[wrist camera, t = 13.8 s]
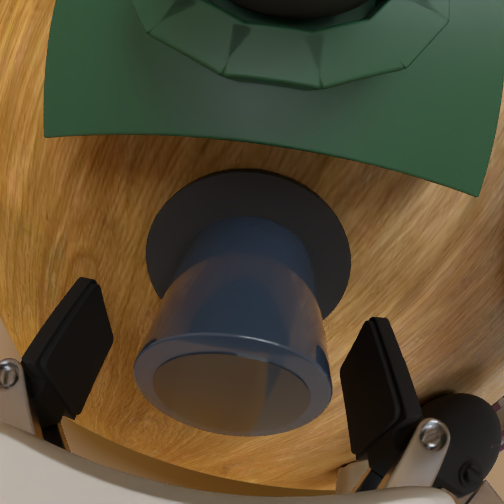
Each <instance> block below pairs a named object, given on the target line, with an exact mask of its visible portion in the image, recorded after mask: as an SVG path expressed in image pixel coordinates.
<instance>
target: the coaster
mask: <svg viewBox="0 0 504 504" xmlns="http://www.w3.org/2000/svg"><path fill="white" fill-rule="evenodd" d="M235 216H253V217H259V218H264V219H268V220H271V221H274V222H276V223H278V224H280V225H282V226H284V227H285V228H287V229H288V230H290V231H291V232H292V233H294V234H295V235H296V236H297V237H298V238H299V239H300V240H301V242H302V243H303V244H304V246H305V247H306V249H307V250H308V253H309V255H310V257H311V261H312V264H313V270H314V275H315V280H316V285H317V291H318V296H319V302H320V308H321V314H322V319H323V320H324V319H325V318H326V317H327V316H328V315H329V314H330V313H331V312H332V311H333V310H334V309H335V307H336V306H337V304H338V303H339V301H340V300H341V298H342V296H343V294H344V292H345V290H346V287H347V284H348V280H349V276H350V269H351V254H350V249H349V243H348V240H347V237H346V235H345V232H344V229H343V227H342V225H341V223H340V222H339V220H338V218H337V216H336V215H335V213H334V212H333V211H332V210H331V208H330V207H329V206H328V204H326V203H325V202H324V201H323V200H322V199H321V198H320V197H319V196H318V195H317V194H316V193H314V192H313V191H311V190H310V189H309V188H307V187H306V186H304V185H302V184H300V183H299V182H297V181H295V180H293V179H291V178H288V177H285V176H282V175H279V174H277V173H272V172H267V171H262V170H252V169H236V170H226V171H221V172H216V173H212V174H210V175H207V176H204V177H201V178H199V179H197V180H195V181H193V182H191V183H189V184H187V185H186V186H184V187H183V188H182V189H180V190H179V191H178V192H176V193H175V194H174V195H173V196H172V197H171V198H170V199H169V200H168V201H167V202H166V203H165V205H164V206H163V207H162V209H161V210H160V211H159V213H158V214H157V216H156V218H155V220H154V222H153V224H152V226H151V229H150V232H149V235H148V239H147V246H146V262H147V268H148V273H149V276H150V279H151V282H152V284H153V286H154V289H155V291H156V292H157V294H158V296H159V297H160V299H161V300H162V298H163V296H164V294H165V292H166V290H167V288H168V286H169V283H170V281H171V279H172V277H173V275H174V273H175V271H176V269H177V267H178V265H179V263H180V261H181V259H182V257H183V255H184V253H185V251H186V249H187V247H188V245H189V243H190V242H191V240H192V239H193V238H194V237H195V236H196V234H197V233H199V232H200V231H201V230H202V229H203V228H205V227H207V226H208V225H210V224H212V223H214V222H216V221H219V220H222V219H225V218H230V217H235Z"/></svg>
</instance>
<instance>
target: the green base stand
mask: <svg viewBox="0 0 504 504" xmlns="http://www.w3.org/2000/svg"><path fill="white" fill-rule="evenodd" d="M503 81H504V0H368V1H367V2H366V3H364V4H362V5H360V6H359V7H357V8H355V9H352V10H350V11H347V12H344V13H340V14H337V15H333V16H326V17H318V18H289V17H280V16H274V15H268V14H264V13H260V12H256V11H253V10H250V9H247V8H244V7H241V6H239V5H237V4H235V3H233V2H231V1H229V0H56V2H55V6H54V11H53V16H52V21H51V27H50V33H49V40H48V48H47V57H46V67H45V81H44V137H45V138H53V137H67V136H86V135H161V136H182V137H197V138H209V139H220V140H230V141H239V142H248V143H256V144H263V145H270V146H277V147H284V148H290V149H296V150H302V151H307V152H313V153H318V154H323V155H328V156H333V157H338V158H343V159H347V160H352V161H356V162H361V163H365V164H369V165H373V166H377V167H381V168H385V169H389V170H393V171H396V172H400V173H403V174H407V175H410V176H414V177H417V178H421V179H424V180H427V181H430V182H433V183H437V184H440V185H443V186H446V187H449V188H452V189H454V190H457V191H460V192H463V193H466V194H468V195H471V196H474V197H478V196H479V193H480V190H481V187H482V184H483V181H484V177H485V174H486V170H487V167H488V163H489V159H490V155H491V151H492V147H493V143H494V138H495V133H496V128H497V123H498V118H499V112H500V105H501V98H502V90H503Z"/></svg>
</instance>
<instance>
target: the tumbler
mask: <svg viewBox="0 0 504 504" xmlns="http://www.w3.org/2000/svg"><path fill="white" fill-rule="evenodd" d="M133 374H134V378H135V382H136V384H137V386H138V388H139V390H140V391H141V393H142V394H143V395H144V396H145V398H146V399H147V400H148V401H149V402H150V403H151V404H152V405H154V406H155V407H156V408H157V409H159V410H160V411H161V412H163V413H165V414H166V415H168V416H170V417H171V418H173V419H175V420H177V421H179V422H181V423H184V424H186V425H189V426H191V427H194V428H197V429H201V430H204V431H208V432H212V433H217V434H223V435H231V436H266V435H273V434H278V433H283V432H287V431H290V430H294V429H296V428H299V427H301V426H303V425H305V424H307V423H309V422H311V421H312V420H314V419H315V418H317V417H318V416H319V415H320V414H322V413H323V411H324V410H325V409H326V408H327V406H328V404H329V403H330V400H331V397H332V379H331V372H330V365H329V358H328V351H327V344H326V338H325V332H324V326H323V319H322V314H321V308H320V302H319V296H318V291H317V285H316V280H315V275H314V270H313V264H312V261H311V257H310V255H309V253H308V250H307V249H306V247H305V246H304V244H303V243H302V242H301V240H300V239H299V238H298V237H297V236H296V235H295V234H294V233H292V232H291V231H290V230H288V229H287V228H285V227H284V226H282V225H280V224H278V223H276V222H274V221H271V220H268V219H264V218H259V217H253V216H235V217H230V218H225V219H222V220H219V221H216V222H214V223H212V224H210V225H208V226H207V227H205V228H203V229H202V230H201V231H200V232H199V233H197V234H196V236H195V237H194V238H193V239H192V240H191V242H190V243H189V245H188V247H187V249H186V251H185V253H184V255H183V257H182V259H181V261H180V263H179V265H178V267H177V269H176V271H175V273H174V275H173V277H172V279H171V281H170V283H169V286H168V288H167V290H166V292H165V294H164V296H163V298H162V300H161V303H160V305H159V307H158V309H157V311H156V313H155V316H154V318H153V320H152V322H151V325H150V327H149V329H148V331H147V334H146V336H145V338H144V340H143V343H142V345H141V347H140V350H139V352H138V354H137V357H136V359H135V362H134V366H133Z"/></svg>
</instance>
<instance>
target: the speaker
mask: <svg viewBox="0 0 504 504" xmlns="http://www.w3.org/2000/svg"><path fill="white" fill-rule="evenodd" d="M421 411H422V414H423V418H424V419H426V418H436V419H439V420H441V421H442V422H443V423H444V424H445V425H446V426H447V428H448V430H449V433H450V443H451V444H452V445H454V446H455V447H457V448H458V449H460V450H461V451H463V452H464V453H466V454H467V455H469V456H471V457H472V458H474V459H475V460H477V461H478V462H479V463H480V465H481V466H482V469H483V479H484V478H485V477H486V476H487V475H488V473H489V472H490V470H491V469H492V467H493V465H494V463H495V462H496V459H497V457H498V454H499V451H500V447H501V441H502V430H501V424H500V420H499V418H498V415H497V413H496V412H495V410H494V409H493V407H492V406H491V405H490V404H489V403H488V402H486V401H485V400H483V399H482V398H480V397H477V396H475V395H471V394H464V393H457V394H450V395H445V396H442V397H439V398H437V399H435V400H432V401H431V402H429V403H427V404H426V405H424V406H423V407H421ZM482 481H483V480H482Z"/></svg>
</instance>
